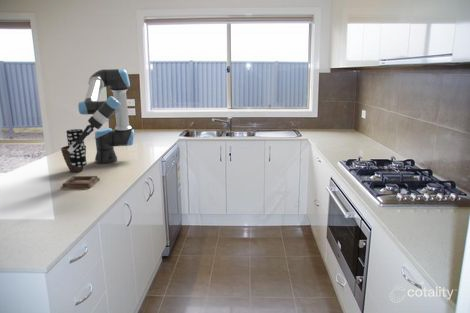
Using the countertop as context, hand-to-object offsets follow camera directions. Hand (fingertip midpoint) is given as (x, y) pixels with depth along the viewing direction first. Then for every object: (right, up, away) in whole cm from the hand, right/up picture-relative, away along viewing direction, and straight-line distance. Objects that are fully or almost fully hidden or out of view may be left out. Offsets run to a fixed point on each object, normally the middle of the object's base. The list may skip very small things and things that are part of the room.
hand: (70, 149), depth 199 cm
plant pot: (-12, -13, +34) cm, 38 cm away
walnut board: (+3, -20, +6) cm, 21 cm away
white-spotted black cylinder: (+3, -9, +3) cm, 10 cm away
